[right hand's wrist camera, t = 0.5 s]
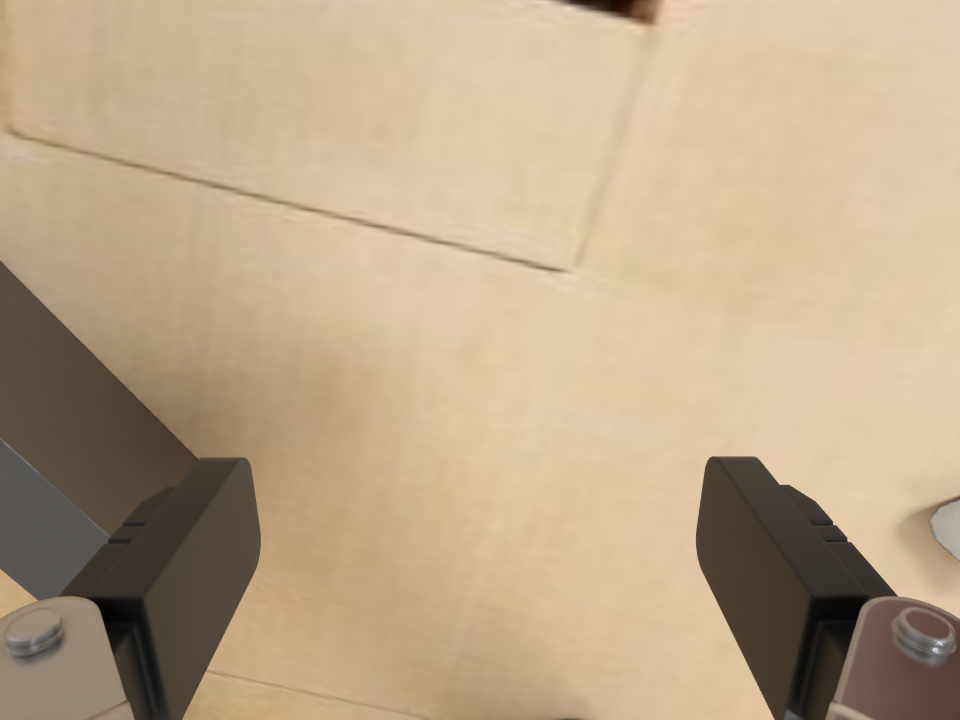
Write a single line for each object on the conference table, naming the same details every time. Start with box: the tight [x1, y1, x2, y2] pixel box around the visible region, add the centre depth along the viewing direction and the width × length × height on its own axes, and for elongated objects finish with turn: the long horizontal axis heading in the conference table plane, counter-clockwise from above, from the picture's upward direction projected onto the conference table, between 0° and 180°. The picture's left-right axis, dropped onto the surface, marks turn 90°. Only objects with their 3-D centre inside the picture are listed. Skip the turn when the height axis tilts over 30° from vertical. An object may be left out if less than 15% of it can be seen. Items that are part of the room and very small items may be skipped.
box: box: [0, 262, 198, 601], centre depth 36 cm, size 22×6×9 cm, turn 36°
